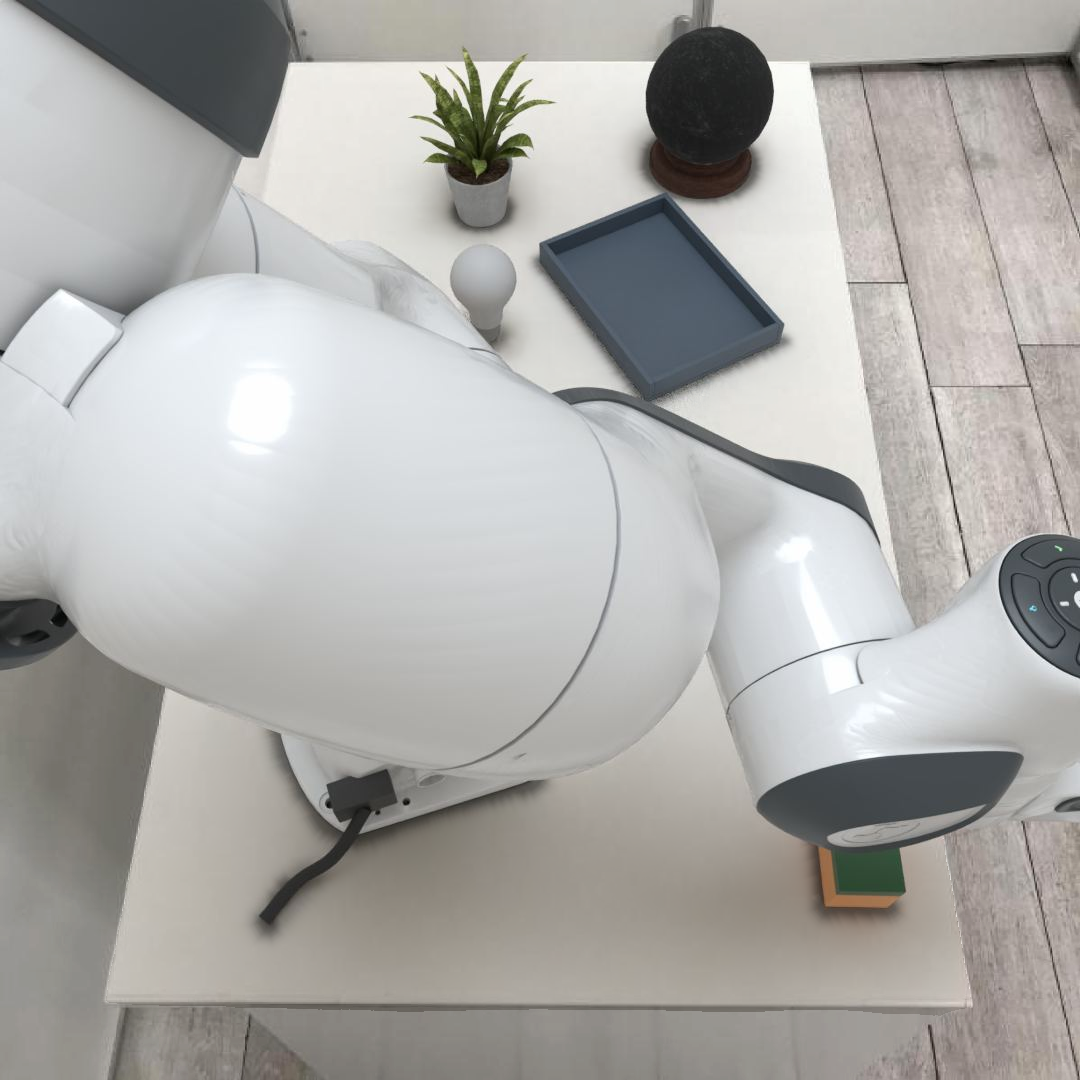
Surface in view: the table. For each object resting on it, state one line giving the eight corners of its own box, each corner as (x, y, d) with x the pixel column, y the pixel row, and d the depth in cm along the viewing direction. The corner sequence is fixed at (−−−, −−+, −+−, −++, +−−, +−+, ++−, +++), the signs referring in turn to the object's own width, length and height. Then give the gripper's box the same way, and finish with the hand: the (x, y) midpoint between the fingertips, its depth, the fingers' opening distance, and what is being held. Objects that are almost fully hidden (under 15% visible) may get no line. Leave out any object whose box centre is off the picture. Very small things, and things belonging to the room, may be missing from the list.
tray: (647, 402, 100) (649, 384, 98) (539, 261, 110) (539, 242, 108) (780, 342, 104) (784, 323, 102) (664, 211, 114) (666, 191, 112)
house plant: (568, 170, 117) (569, 33, 103) (551, 259, 110) (550, 125, 96) (440, 159, 119) (425, 22, 105) (416, 247, 111) (395, 113, 97)
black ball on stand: (633, 127, 121) (643, 2, 108) (749, 122, 121) (772, -4, 108) (646, 208, 114) (658, 84, 101) (769, 201, 114) (796, 77, 101)
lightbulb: (517, 361, 103) (514, 278, 94) (454, 361, 103) (445, 278, 94) (519, 314, 106) (516, 230, 97) (458, 314, 107) (449, 229, 97)
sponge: (887, 907, 76) (906, 892, 72) (824, 906, 77) (839, 891, 72) (873, 811, 80) (891, 791, 76) (813, 810, 80) (827, 790, 76)
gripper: (769, 791, 55) (735, 858, 67) (1174, 802, 54) (1067, 867, 66) (761, 678, 58) (730, 761, 70) (1143, 686, 58) (1046, 769, 69)
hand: (896, 813), depth 68 cm, fingers open, 8 cm apart
